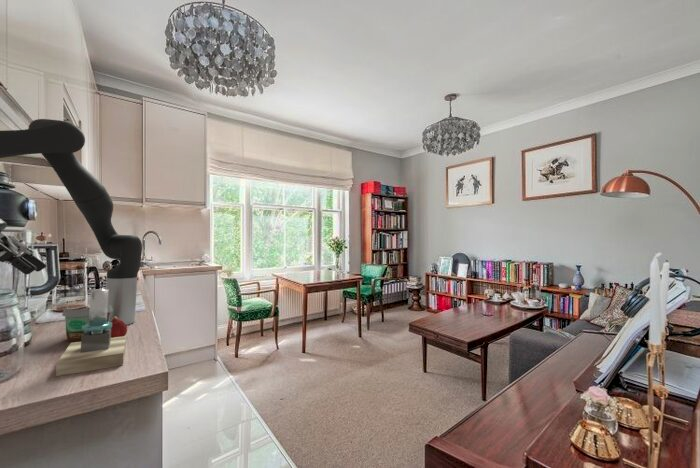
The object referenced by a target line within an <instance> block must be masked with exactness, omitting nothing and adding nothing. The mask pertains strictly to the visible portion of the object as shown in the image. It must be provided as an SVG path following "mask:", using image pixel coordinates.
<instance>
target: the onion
mask: <svg viewBox="0 0 700 468" xmlns="http://www.w3.org/2000/svg"><path fill="white" fill-rule="evenodd" d="M111 322H112V327H111V338H115V337H123V336H126V335H127V333H128V326H127V325H126V324H125V323H124V322H123V321H122V320H119V319H118V318H117V317H116V316H115V317H114V319H113V320H112V321H111Z"/></svg>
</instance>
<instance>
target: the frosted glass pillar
mask: <svg viewBox="0 0 700 468" xmlns="http://www.w3.org/2000/svg"><path fill="white" fill-rule="evenodd" d="M108 293H109V289H106V288H98V289H91V290H90V295H89V296H90V298H89V308H90V310H89V324H85V325H83V326H82V331H85V332H92V334H98V333H103V330H106V329H109V328H111V327H112V322H107V308H108Z"/></svg>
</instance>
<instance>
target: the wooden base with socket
mask: <svg viewBox="0 0 700 468" xmlns="http://www.w3.org/2000/svg"><path fill="white" fill-rule="evenodd" d="M126 345H127V336H126V335H125V336H123V337H115V338H111V328H109V329H106V330H103V333H98V334H92V332H84V333H83V335H82V337H81V342H74V343H73V342H69V345H68V347H67V348H66V349H65V351H64V352H63V353H62V354H61V357H60V358H59V359H58V361H57V362H56V368H55V369H56V371H55V377H58V376H59V377H60V376H66V375H71V374H73V375H74V374H78V373H84V372H85V373H86V372H89V371H90V372H91V371H96V370H101V369H108V368H114V367H118V366H121V367H122V366H124V360H125V359H124V358H125V353H126Z"/></svg>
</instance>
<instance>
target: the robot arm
mask: <svg viewBox="0 0 700 468" xmlns="http://www.w3.org/2000/svg"><path fill="white" fill-rule="evenodd" d="M85 143H86V138H85V134H84V132H83V131H82V130H81V129H80V128H79V127H78V126H77V125H75V124H73V123H71V122H68V121H65V120H61V119H60V120H58V119H50V118H48V119H47V118H38V119H37V118H36V119H34V120H32V121H31V122H30V123H29V125H28V128H27V129H26V128H25V129H16V130H15V129H13V130H0V159H3V158H4V159H5V158H9V157H10V158H11V157H18V156H19V157H20V156H26V155H35V154H36V155H37V154H38V155H39V154H41V155H42V157H43V158H45V160H46V162H47V163H49V165H50V166H51V168H52V169H53V171H54V172H55V174H56V175H57V177H58V178H59V179H60V181H61V183H62V184H63V186H64V187H65V189H66V190H67V192H68V194H69V195H70V197H71V198H72V201H73V202H74V203H75V204H74V205H76V207H77V208H78V210H79V211H80V213H81V214H82V215H83V217H84V219H85V221H86V222H87V224H88V226H89V227H90V229H91V231H92V232H93V234H94V236H95V239H96V240H97V243H98V245H99V247H100V249H101V251H102V253H103V254H104V255H105V257H107V258H109V259H111V260H112V259H113V260H120V261H119V264H118V266H116V267H113V268H110V269H108V270H107V271H106V280H105V281H106V282H105V289H109V293H108V306H109V305H111V307H112V310H113V311H112V312H110V315H109V320H108V322H111V321H112V320H113V319H114V317H115V316H116V317H117V318H118V319H119V320H122V321H123V322H124V323H125V324H126V326H127V325H131V324H134V323H135V321H136V320H135V319H136V309H137V308H136V306H137V292H138V289H137V288H138V273H139V271H140V269H141V262H142V256H143V255H142V254H143V243H142V240H141V239H140V237H139V236H137V235H133V234H132V235H131V234H129V235H128V234H127V235H126V234H119V233H118V232H117V231H116V229H115V228H114V226H113V223H112V216H113V212H114V202H113V200H112V198H111V196H110V194H109V192H108V191H107V188H106V187H105V186H104V185H103V183H102V182H101V180H99V179H98V178H97V177H95V175H94V174H92V173H91V171H89V170H88V169H87V168H86V167H85V166H84V165H83V164H82V162H80V161H79V159H78V158H77V156H76V154H75V153H77V152H79V151H81V150H82V148H84V146H85ZM7 227H8V223H7V221H4V220H3V219H2V218H0V262H1V263H5V264H8V265H11V266H12V267H14V268H15V269H17V270H18V271H20V272H21V273H22V274H24V275H30V274H32V273H33V272H42V270H44V269H46V267H47V266H48V265H47V264H46V263H44V261H42V260H41V259H39V257H37V256H35V254H34V251H33V249H32V250H31V249H30V248H28V247H27V246H26V245H24V244H23V243H22V242H21V241H19V240H18V239H16V238H15V237H14V236H12V235H5V234H3V233H2V231H4V230H5V229H6V228H7Z"/></svg>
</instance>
